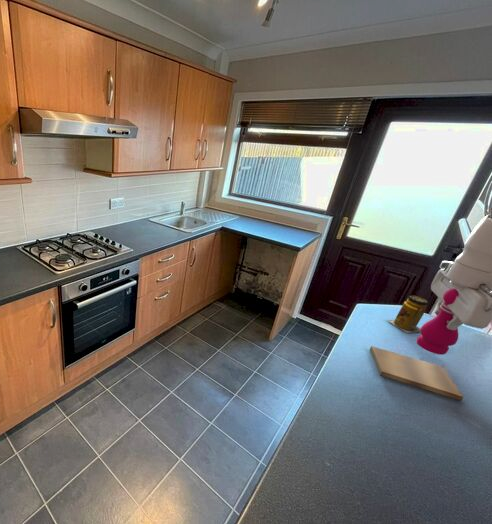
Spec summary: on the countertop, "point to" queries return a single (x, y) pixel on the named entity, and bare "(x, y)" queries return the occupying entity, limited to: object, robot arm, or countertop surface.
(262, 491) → the countertop surface
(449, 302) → the pepper mill
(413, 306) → the condiment
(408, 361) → the chopping board
